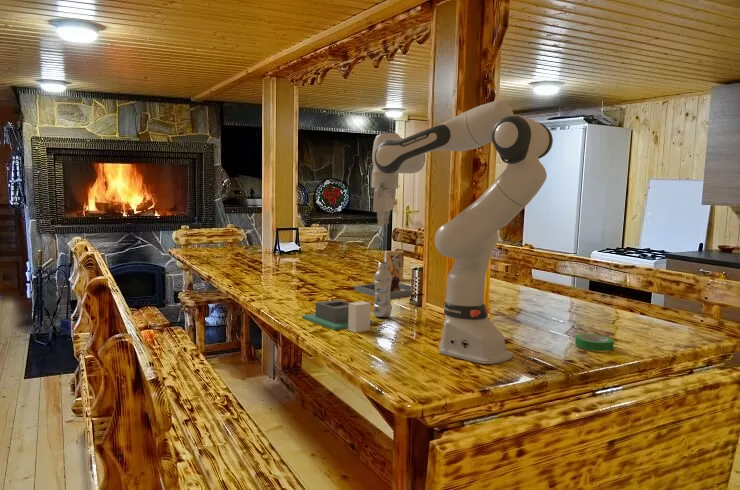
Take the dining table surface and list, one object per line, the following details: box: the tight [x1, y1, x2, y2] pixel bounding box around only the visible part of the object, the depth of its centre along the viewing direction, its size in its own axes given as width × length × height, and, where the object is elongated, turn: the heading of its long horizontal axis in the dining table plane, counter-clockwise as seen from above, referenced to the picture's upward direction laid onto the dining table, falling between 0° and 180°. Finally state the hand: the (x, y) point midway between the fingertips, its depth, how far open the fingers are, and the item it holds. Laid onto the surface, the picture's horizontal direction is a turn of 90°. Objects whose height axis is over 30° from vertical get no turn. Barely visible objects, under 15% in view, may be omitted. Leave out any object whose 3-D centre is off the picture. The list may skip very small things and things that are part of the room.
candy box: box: [383, 250, 405, 281], centre depth 285 cm, size 9×4×15 cm, turn 103°
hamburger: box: [373, 273, 402, 292], centre depth 255 cm, size 16×13×10 cm
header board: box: [301, 299, 374, 331], centre depth 203 cm, size 20×16×6 cm
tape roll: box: [575, 333, 615, 352], centre depth 181 cm, size 11×11×3 cm
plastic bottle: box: [372, 261, 392, 319], centre depth 210 cm, size 6×7×20 cm
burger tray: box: [354, 283, 412, 300], centre depth 255 cm, size 20×22×3 cm
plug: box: [347, 300, 372, 333], centre depth 191 cm, size 4×6×9 cm, turn 129°
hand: (383, 224), depth 193 cm, fingers open, 8 cm apart
